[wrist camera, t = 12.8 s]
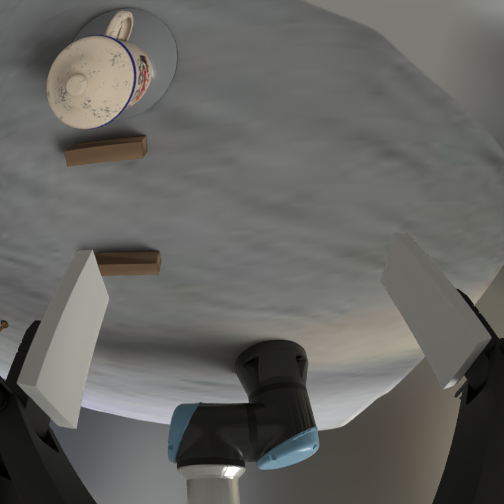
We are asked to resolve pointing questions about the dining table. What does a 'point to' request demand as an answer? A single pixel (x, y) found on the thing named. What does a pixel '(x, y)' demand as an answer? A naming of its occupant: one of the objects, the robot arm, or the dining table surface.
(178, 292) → the dining table surface
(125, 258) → the walnut cradle
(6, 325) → the place setting
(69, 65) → the teacup with lid
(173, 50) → the grey flat disc
